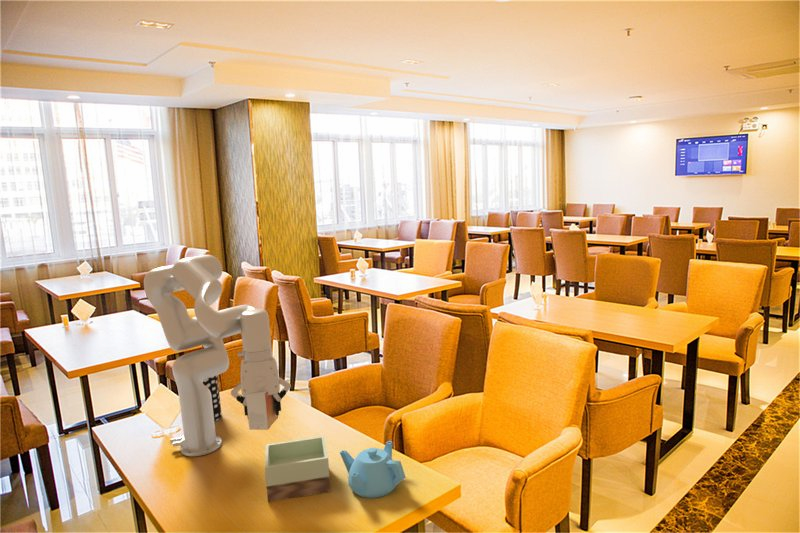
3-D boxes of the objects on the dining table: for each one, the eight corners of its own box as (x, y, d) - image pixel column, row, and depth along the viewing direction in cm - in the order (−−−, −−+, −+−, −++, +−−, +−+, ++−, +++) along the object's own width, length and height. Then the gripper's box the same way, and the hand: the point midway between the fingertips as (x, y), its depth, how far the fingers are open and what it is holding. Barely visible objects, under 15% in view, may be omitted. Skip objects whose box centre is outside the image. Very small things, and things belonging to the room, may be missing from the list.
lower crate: (268, 502, 142) (266, 486, 141) (268, 476, 154) (267, 461, 154) (330, 491, 145) (329, 476, 145) (326, 466, 158) (325, 452, 157)
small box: (268, 430, 145) (264, 393, 144) (248, 430, 146) (245, 393, 144) (278, 417, 153) (275, 382, 151) (260, 417, 154) (257, 382, 152)
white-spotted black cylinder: (207, 425, 189) (201, 371, 186) (192, 420, 193) (186, 367, 190) (226, 416, 196) (221, 363, 193) (211, 411, 200) (205, 360, 197)
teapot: (351, 508, 138) (348, 469, 136) (341, 477, 152) (338, 442, 150) (408, 495, 142) (406, 458, 140) (392, 467, 156) (391, 432, 154)
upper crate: (266, 486, 141) (264, 467, 140) (267, 461, 154) (265, 444, 153) (329, 476, 145) (328, 458, 144) (325, 452, 157) (324, 435, 156)
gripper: (223, 362, 141) (229, 425, 144) (290, 355, 145) (295, 416, 148) (226, 353, 148) (232, 414, 151) (289, 346, 152) (294, 405, 155)
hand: (263, 414), depth 149 cm, fingers closed on small box, 7 cm apart
